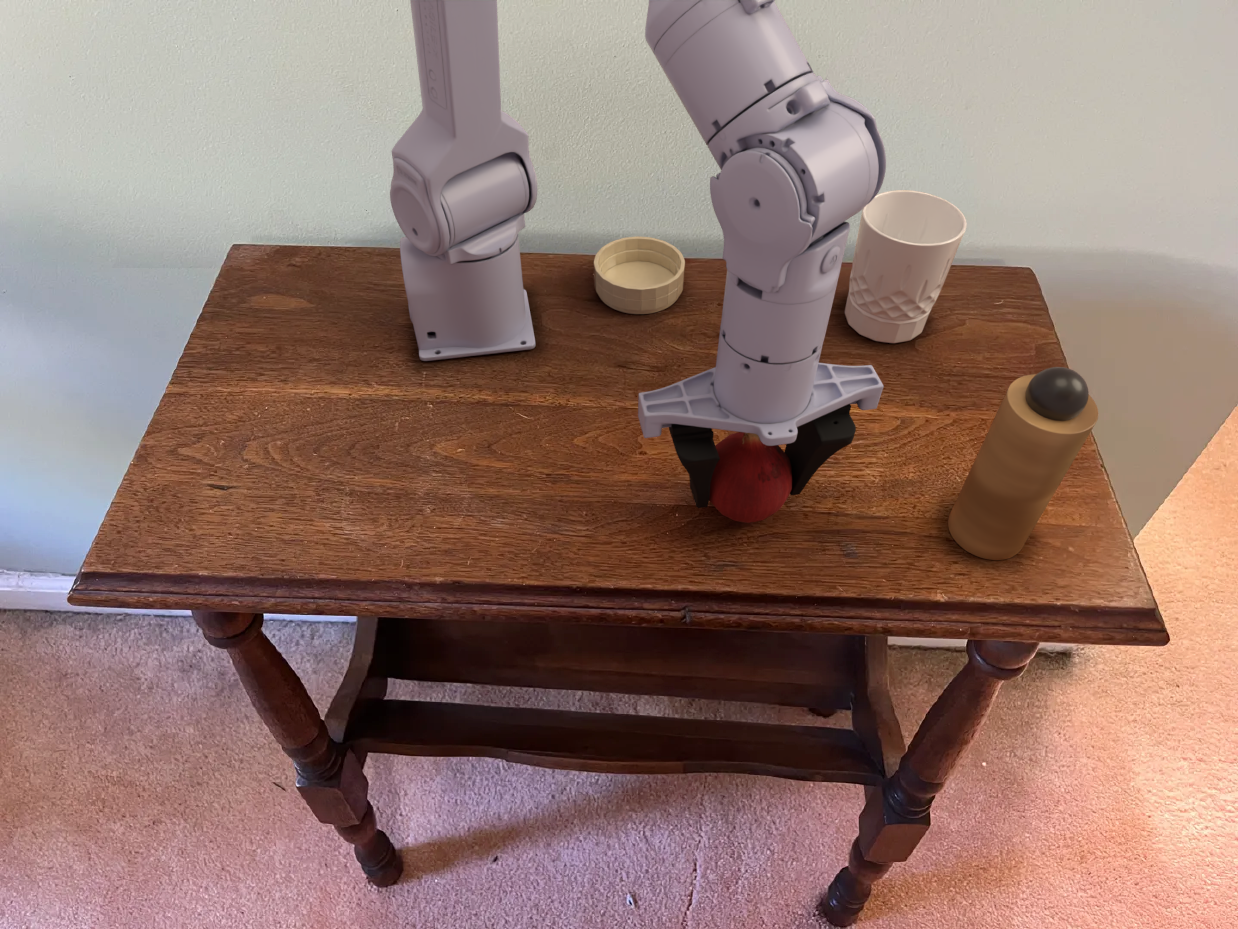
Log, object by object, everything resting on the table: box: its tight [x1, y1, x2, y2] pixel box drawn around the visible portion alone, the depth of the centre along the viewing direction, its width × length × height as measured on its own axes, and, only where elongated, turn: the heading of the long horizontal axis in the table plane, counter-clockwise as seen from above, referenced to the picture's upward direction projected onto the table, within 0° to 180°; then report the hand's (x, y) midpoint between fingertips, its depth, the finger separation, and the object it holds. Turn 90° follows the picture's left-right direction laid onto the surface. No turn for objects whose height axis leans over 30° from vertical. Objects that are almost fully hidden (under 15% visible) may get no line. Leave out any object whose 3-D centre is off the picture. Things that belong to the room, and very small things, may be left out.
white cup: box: [844, 189, 968, 344], centre depth 70 cm, size 8×8×10 cm
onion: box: [709, 432, 792, 524], centre depth 56 cm, size 6×6×8 cm
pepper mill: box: [947, 366, 1099, 561], centre depth 53 cm, size 5×5×14 cm
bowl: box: [593, 235, 686, 315], centre depth 75 cm, size 8×8×3 cm
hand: (744, 490), depth 57 cm, fingers closed on onion, 6 cm apart
